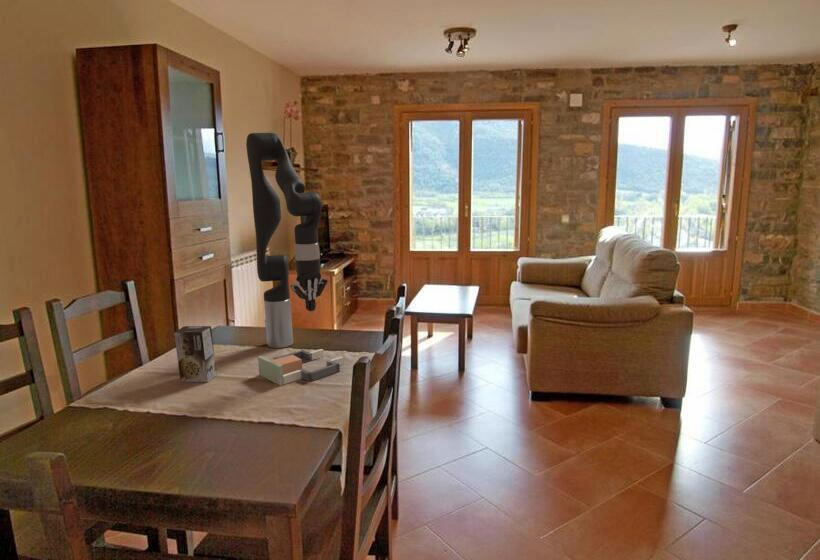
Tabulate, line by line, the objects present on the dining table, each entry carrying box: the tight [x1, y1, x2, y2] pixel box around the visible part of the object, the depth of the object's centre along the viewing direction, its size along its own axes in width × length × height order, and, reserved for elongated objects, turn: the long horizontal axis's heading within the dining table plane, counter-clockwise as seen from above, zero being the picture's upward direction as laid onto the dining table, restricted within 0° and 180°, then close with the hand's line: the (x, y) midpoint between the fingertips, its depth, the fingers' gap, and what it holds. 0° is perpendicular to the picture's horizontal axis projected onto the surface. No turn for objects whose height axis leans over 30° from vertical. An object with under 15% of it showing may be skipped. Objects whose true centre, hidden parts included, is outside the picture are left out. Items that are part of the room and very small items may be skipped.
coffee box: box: [173, 325, 217, 383], centre depth 164 cm, size 9×6×16 cm
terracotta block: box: [270, 355, 303, 375], centre depth 168 cm, size 6×8×4 cm
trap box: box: [257, 348, 345, 387], centre depth 170 cm, size 20×24×6 cm
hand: (310, 310), depth 170 cm, fingers closed
